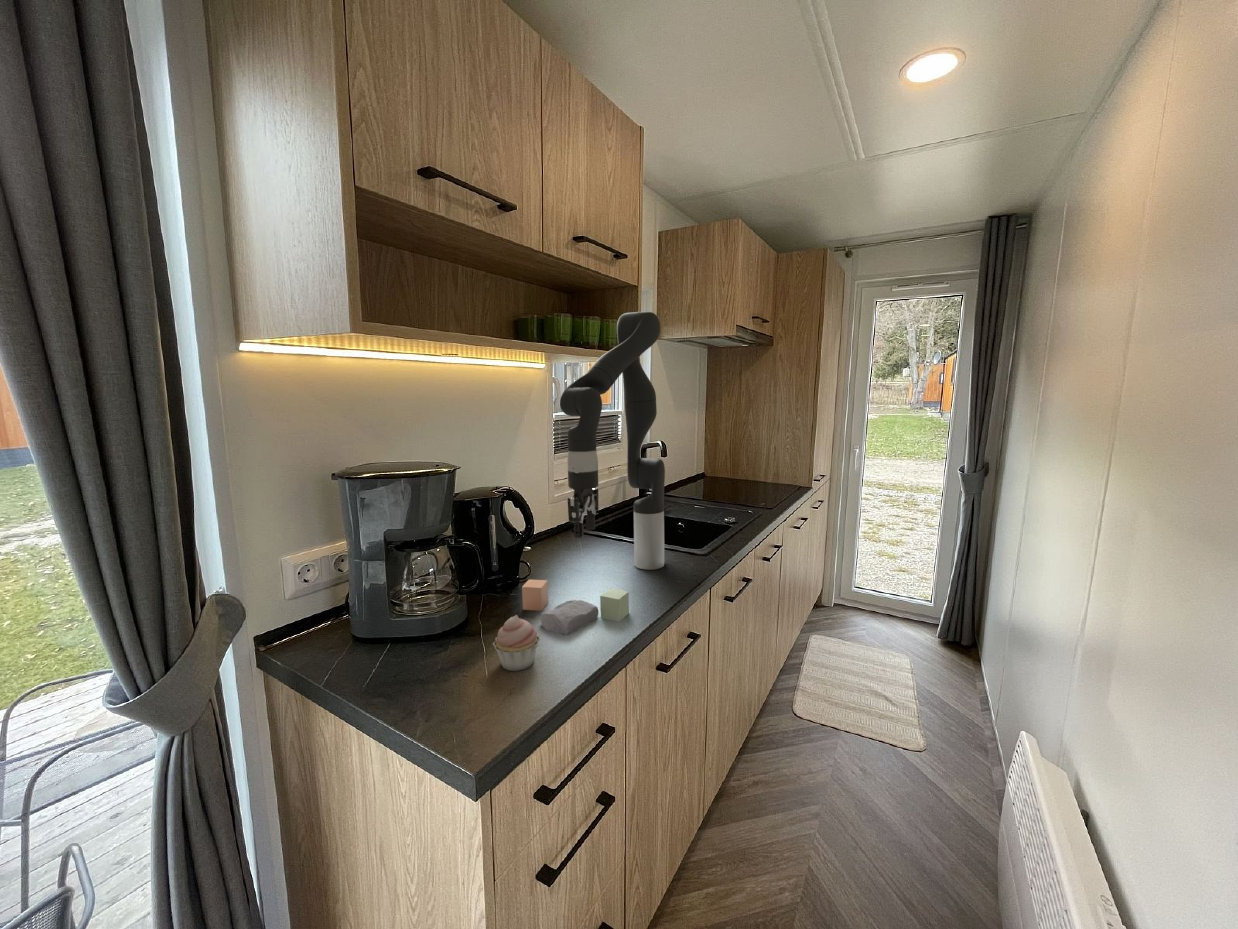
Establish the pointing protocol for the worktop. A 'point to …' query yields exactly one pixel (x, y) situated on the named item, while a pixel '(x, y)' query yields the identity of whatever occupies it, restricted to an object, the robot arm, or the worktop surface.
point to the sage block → (614, 604)
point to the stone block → (569, 616)
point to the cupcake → (516, 644)
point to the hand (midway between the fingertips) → (584, 533)
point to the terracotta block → (535, 594)
